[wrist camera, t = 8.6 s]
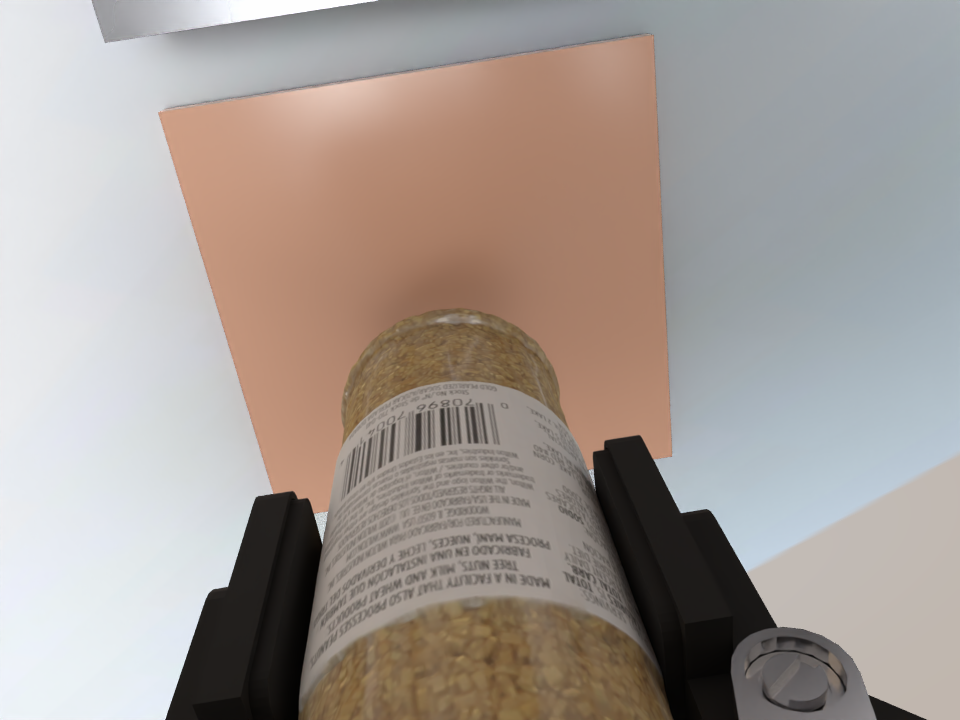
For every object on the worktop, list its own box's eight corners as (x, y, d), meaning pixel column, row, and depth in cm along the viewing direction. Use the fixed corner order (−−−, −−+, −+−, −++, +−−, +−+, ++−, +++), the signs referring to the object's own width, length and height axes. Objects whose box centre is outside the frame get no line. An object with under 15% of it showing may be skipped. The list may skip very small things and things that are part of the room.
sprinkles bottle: (357, 501, 18) (235, 1641, 5) (328, 308, 16) (41, 1405, 4) (564, 482, 18) (887, 1541, 6) (560, 289, 16) (1041, 1269, 4)
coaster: (647, 33, 20) (653, 35, 19) (666, 446, 25) (672, 456, 24) (165, 108, 20) (158, 112, 19) (284, 507, 25) (281, 518, 24)
